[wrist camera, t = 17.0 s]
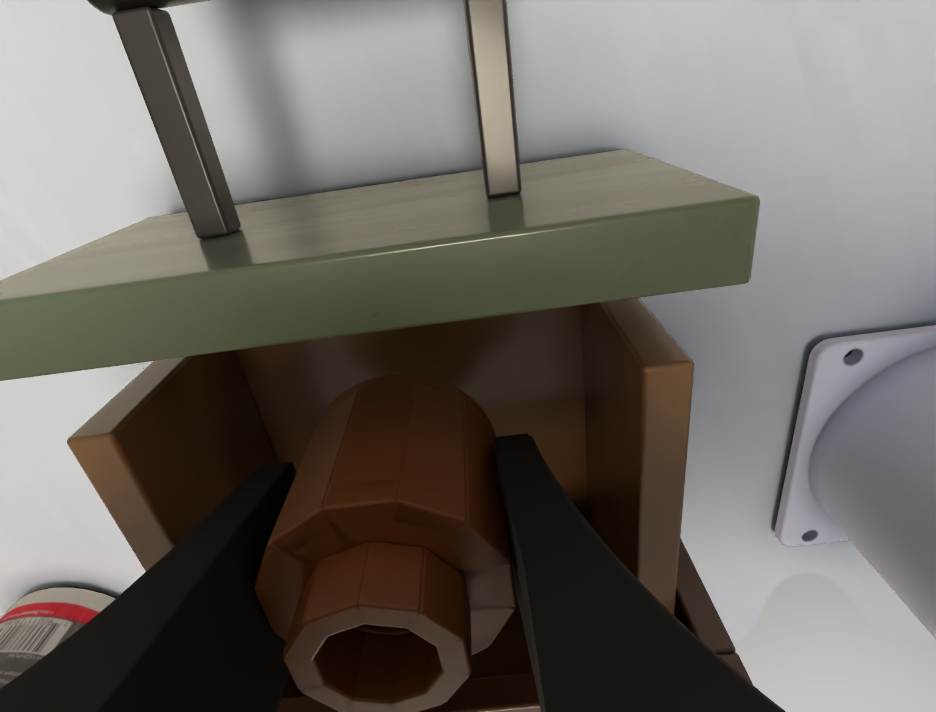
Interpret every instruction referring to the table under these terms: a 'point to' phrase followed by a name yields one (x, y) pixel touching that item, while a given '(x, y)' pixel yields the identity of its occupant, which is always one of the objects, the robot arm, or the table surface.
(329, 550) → the spice bottle
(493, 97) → the drawer
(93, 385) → the table surface
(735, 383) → the table surface
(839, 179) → the table surface
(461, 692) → the cabinet
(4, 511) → the table surface
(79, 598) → the pill bottle
